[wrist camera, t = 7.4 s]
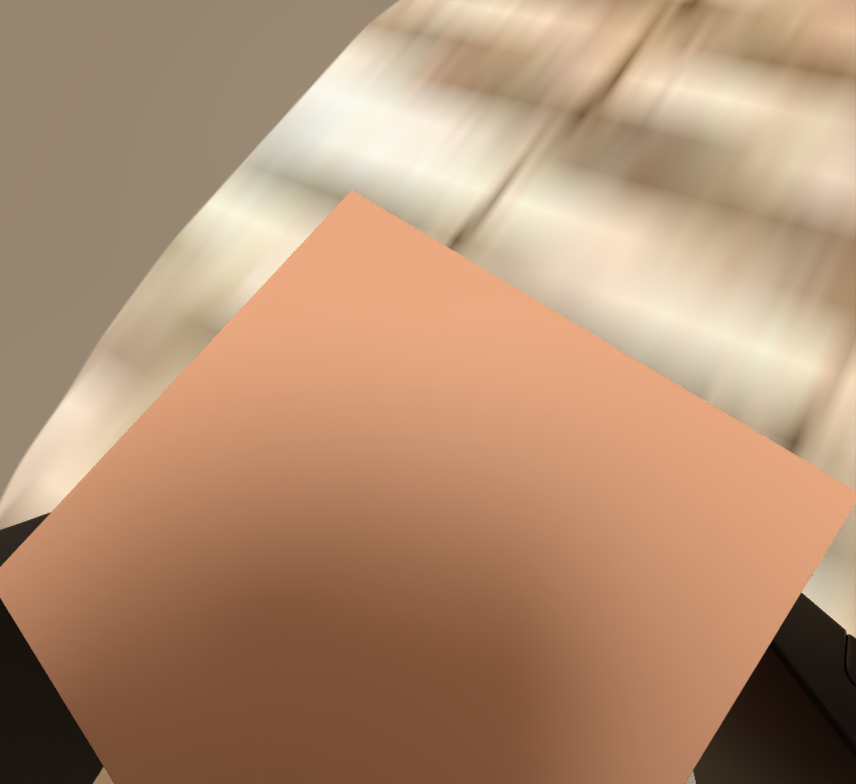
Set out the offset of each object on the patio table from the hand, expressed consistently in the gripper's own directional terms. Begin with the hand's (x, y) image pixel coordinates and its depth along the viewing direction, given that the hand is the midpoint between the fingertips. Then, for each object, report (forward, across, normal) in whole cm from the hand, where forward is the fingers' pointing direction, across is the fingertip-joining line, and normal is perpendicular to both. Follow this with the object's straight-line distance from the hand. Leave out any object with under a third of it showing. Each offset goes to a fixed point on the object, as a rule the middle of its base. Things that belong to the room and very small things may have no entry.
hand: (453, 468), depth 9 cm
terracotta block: (+4, 0, +6) cm, 7 cm away
